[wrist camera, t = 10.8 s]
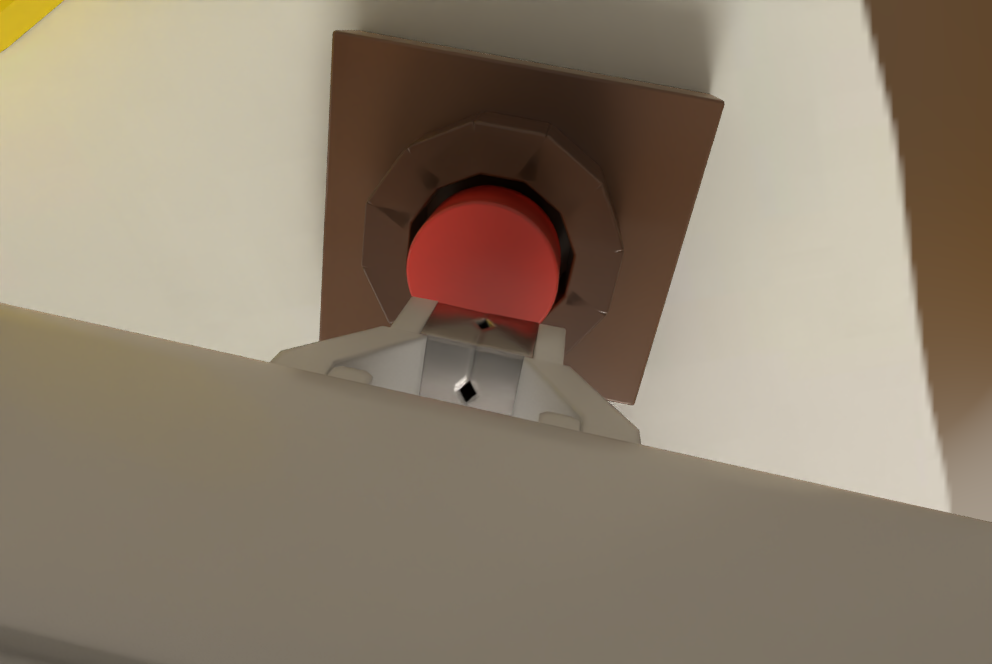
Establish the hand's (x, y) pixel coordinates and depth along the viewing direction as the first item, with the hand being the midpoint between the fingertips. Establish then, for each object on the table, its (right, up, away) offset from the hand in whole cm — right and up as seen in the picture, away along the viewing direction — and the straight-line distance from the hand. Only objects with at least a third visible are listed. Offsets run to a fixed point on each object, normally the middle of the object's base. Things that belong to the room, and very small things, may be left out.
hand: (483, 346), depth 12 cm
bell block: (0, +4, +7) cm, 8 cm away
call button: (0, +2, +4) cm, 5 cm away
